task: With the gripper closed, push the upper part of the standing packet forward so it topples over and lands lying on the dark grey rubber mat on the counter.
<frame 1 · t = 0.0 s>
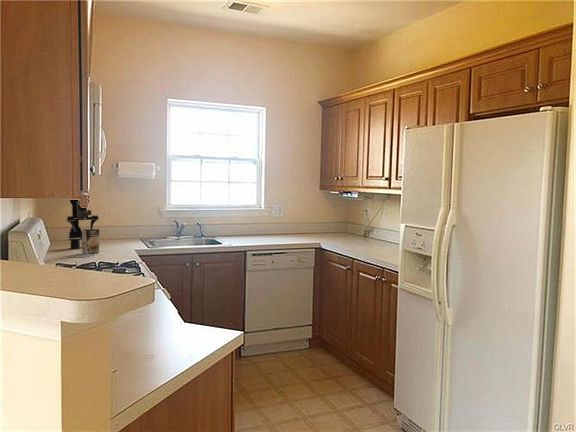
hand: (83, 231, 314), 15 cm above the worktop, tool pointing down, fingers open, 9 cm apart
mat: (81, 256, 313), on the worktop
coffee box: (90, 253, 323), on the worktop, touching mat
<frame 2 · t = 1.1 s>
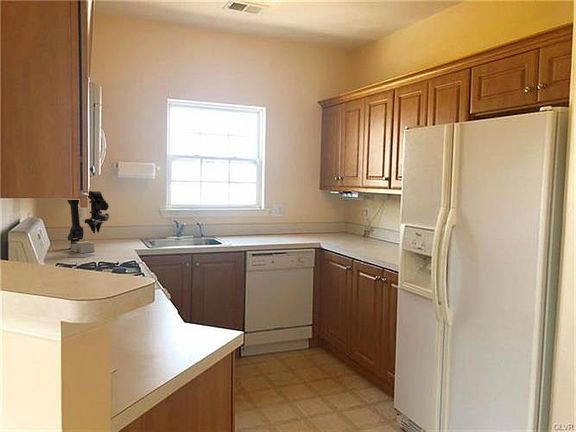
hand: (96, 232, 330), 13 cm above the worktop, tool pointing down, fingers open, 5 cm apart
coffee box: (88, 248, 325), point 3 cm above the worktop
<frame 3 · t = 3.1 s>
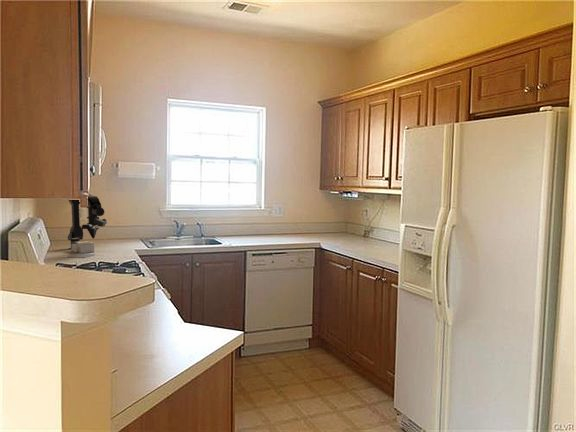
hand: (93, 238, 326), 10 cm above the worktop, tool pointing down, fingers closed
nothing on the worktop moved.
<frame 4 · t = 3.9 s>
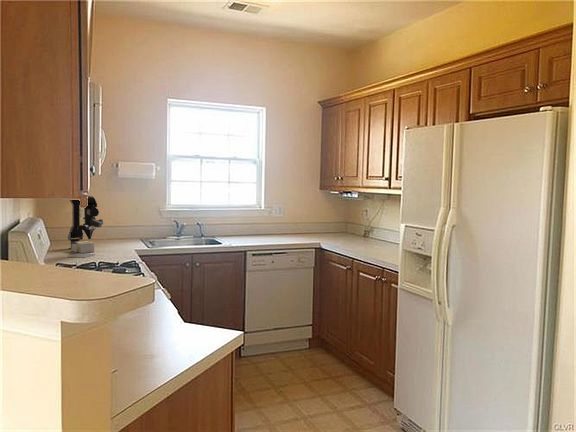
hand: (89, 239, 322), 10 cm above the worktop, tool pointing down, fingers closed
nothing on the worktop moved.
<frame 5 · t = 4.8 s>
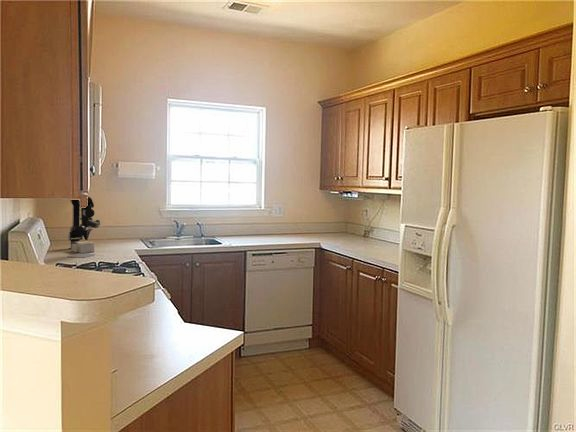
hand: (86, 240, 318), 10 cm above the worktop, tool pointing down, fingers closed
nothing on the worktop moved.
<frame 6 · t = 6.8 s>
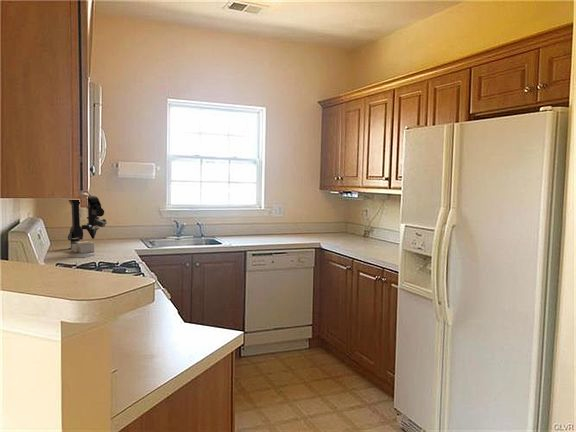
hand: (93, 238, 326), 9 cm above the worktop, tool pointing down, fingers closed
nothing on the worktop moved.
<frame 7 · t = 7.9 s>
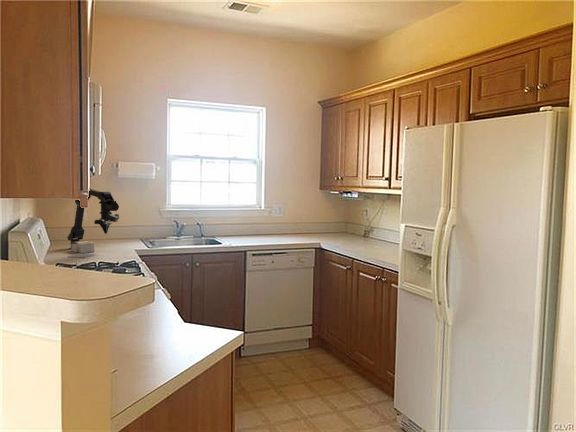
hand: (105, 233, 325), 13 cm above the worktop, tool pointing down, fingers closed
nothing on the worktop moved.
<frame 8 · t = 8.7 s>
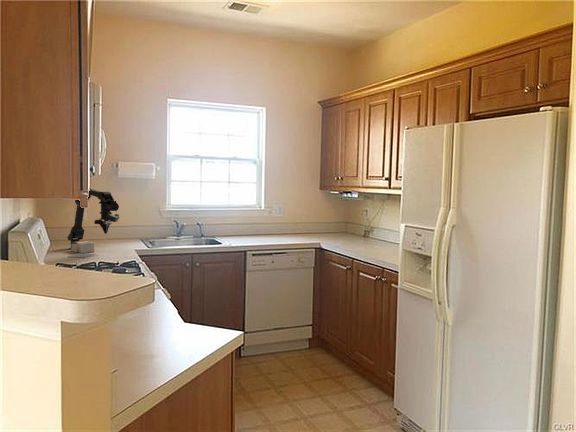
hand: (105, 233, 325), 13 cm above the worktop, tool pointing down, fingers closed
nothing on the worktop moved.
at the end: coffee box tilted 90°; coffee box moved 4.5 cm from its start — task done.
